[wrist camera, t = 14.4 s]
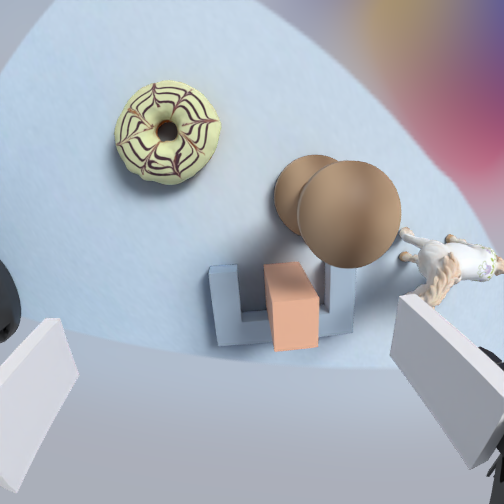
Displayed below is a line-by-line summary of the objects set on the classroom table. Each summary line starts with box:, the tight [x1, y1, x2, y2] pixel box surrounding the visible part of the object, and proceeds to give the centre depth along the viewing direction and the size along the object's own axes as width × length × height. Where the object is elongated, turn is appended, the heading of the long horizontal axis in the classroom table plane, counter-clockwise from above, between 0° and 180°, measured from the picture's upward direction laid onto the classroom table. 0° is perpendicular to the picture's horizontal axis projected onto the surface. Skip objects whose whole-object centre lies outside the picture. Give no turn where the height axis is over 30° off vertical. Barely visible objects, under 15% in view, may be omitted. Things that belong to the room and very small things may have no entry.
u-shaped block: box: [209, 263, 356, 346], centre depth 36 cm, size 16×9×2 cm, turn 94°
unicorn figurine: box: [399, 227, 504, 310], centre depth 30 cm, size 7×20×13 cm, turn 103°
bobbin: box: [274, 155, 401, 269], centre depth 28 cm, size 9×9×12 cm
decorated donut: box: [114, 80, 221, 185], centre depth 30 cm, size 10×11×4 cm
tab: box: [264, 262, 319, 352], centre depth 32 cm, size 4×5×10 cm
